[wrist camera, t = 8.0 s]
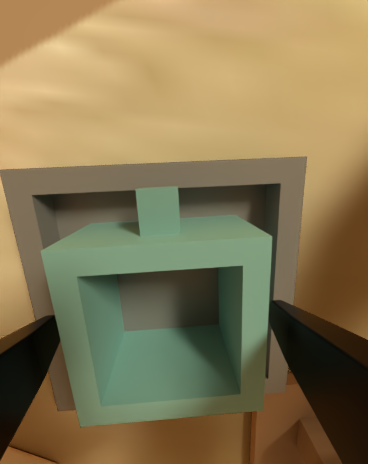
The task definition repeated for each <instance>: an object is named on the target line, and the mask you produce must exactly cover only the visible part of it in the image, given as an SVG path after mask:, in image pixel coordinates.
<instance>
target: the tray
mask: <svg viewBox="0 0 368 464" xmlns="http://www.w3.org/2000/svg"><path fill="white" fill-rule="evenodd" d="M306 162H307V157H285V158H262V159H239V160H216V161H192V162H169V163H146V164H122V165H99V166H76V167H53V168H29V169H6V170H0V176H1V180H2V184H3V188H4V192H5V196H6V200H7V204H8V208H9V213H10V217H11V221H12V225H13V229H14V233H15V237H16V241H17V245H18V249H19V253H20V258H21V262H22V266H23V270H24V274H25V278H26V282H27V286H28V290H29V294H30V299H31V303H32V307H33V311H34V315H35V319H36V320H38V319H40V318H42V317H44V316H47V315H55V313H54V309H53V304H52V300H51V295H50V291H49V287H48V282H47V278H46V273H45V269H44V264H43V260H42V255H41V250H43V249H45V248H47V247H49V246H50V245H52V244H54V243H56V242H58V241H60V240H61V239H63V238H65V237H67V236H69V235H70V234H72V233H74V232H76V231H78V230H80V229H81V228H83V227H85V226H87V225H89V224H91V223H107V222H124V221H139V219H138V210H137V200H136V191H135V189H138V188H149V187H168V186H178V196H179V214H180V218H193V217H210V216H227V215H237V216H238V217H240V218H242V219H244V220H245V221H247V222H249V223H250V224H252V225H254V226H255V227H257V228H259V229H261V230H262V231H264V232H266V233H267V234H269V235H271V236H272V254H271V274H270V293H269V304H270V301H271V300H282V301H285V302H287V303H289V304H291V305H293V306H294V295H295V284H296V273H297V262H298V251H299V240H300V228H301V217H302V206H303V195H304V184H305V173H306ZM117 279H118V287H119V294H120V301H121V309H122V316H123V323H124V330H125V331H138V330H151V329H164V328H178V327H191V326H204V325H217V324H219V290H218V267H214V268H199V269H184V270H169V271H154V272H139V273H124V274H117ZM48 372H49V376H50V380H51V385H52V389H53V393H54V397H55V401H56V405H57V409H58V411H65V410H76V407H75V402H74V398H73V393H72V389H71V384H70V380H69V375H68V371H67V367H66V362H65V358H64V353H63V349H62V344H61V341H60V343H59V346H58V348H57V350H56V353H55V355H54V357H53V360H52V362H51V364H50V367H49V369H48ZM287 373H288V364H287V362H286V361H285V358H284V356H283V354H282V352H281V349H280V347H279V345H278V342H277V340H276V338H275V335H274V333H273V331H272V328H271V326H270V323H269V312H268V331H267V351H266V370H265V389H264V394H270V393H282V392H286V384H287Z"/></svg>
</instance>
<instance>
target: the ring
mask: <svg viewBox="0 0 368 464" xmlns="http://www.w3.org/2000/svg"><path fill="white" fill-rule="evenodd" d="M135 191H136V200H137V210H138V219H139V221H124V222H107V223H91V224H89V225H87V226H85V227H83V228H81V229H80V230H78V231H76V232H74V233H72V234H70V235H69V236H67V237H65V238H63V239H61V240H60V241H58V242H56V243H54V244H52V245H50V246H49V247H47V248H45V249H43V250H41V255H42V260H43V264H44V269H45V273H46V278H47V282H48V287H49V291H50V295H51V300H52V304H53V309H54V313H55V318H56V322H57V327H58V331H59V335H60V340H61V344H62V349H63V353H64V358H65V362H66V367H67V371H68V375H69V380H70V384H71V389H72V393H73V398H74V402H75V407H76V411H77V415H78V420H79V424H80V427H87V426H98V425H109V424H120V423H131V422H142V421H154V420H165V419H176V418H187V417H198V416H209V415H220V414H231V413H242V412H253V411H263V409H264V389H265V370H266V351H267V331H268V312H269V293H270V274H271V254H272V236H271V235H269V234H267V233H266V232H264V231H262V230H261V229H259V228H257V227H255V226H254V225H252V224H250V223H249V222H247V221H245V220H244V219H242V218H240V217H238V216H237V215H227V216H210V217H193V218H180V214H179V196H178V186H168V187H149V188H138V189H135ZM214 267H218V290H219V324H217V325H204V326H191V327H178V328H164V329H151V330H138V331H125V330H124V323H123V316H122V309H121V301H120V294H119V287H118V279H117V274H124V273H139V272H154V271H169V270H184V269H199V268H214Z"/></svg>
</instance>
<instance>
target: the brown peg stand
mask: <svg viewBox="0 0 368 464" xmlns="http://www.w3.org/2000/svg"><path fill="white" fill-rule="evenodd" d="M250 464H342V462H341V461H340V459H339V457H338V455H337V453H336V452H335V450H334V448H333V446H332V444H331V443H330V441H329V439H328V437H327V435H326V433H325V432H324V430H323V428H322V426H321V424H320V423H319V421H318V419H317V417H316V415H315V413H314V412H313V410H312V408H311V406H310V404H309V403H308V401H307V399H306V397H305V395H304V394H303V392H302V390H301V388H300V386H299V384H298V383H297V381H296V379H295V377H294V375H293V374H292V373H287V384H286V392H282V393H270V394H264V409H263V411H253V412H252V418H251V442H250Z"/></svg>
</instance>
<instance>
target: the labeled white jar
mask: <svg viewBox="0 0 368 464" xmlns="http://www.w3.org/2000/svg"><path fill="white" fill-rule="evenodd" d="M0 464H57V463H55V462H52V461H49V460H46V459H43V458H41V457H38V456H35V455H32V454H29V453H26V452H23V451H20V450H18V449H15V448H12V447H9V446H8V448H7V449H6V451H5V453H4V455H3V457H2V459H1V461H0Z"/></svg>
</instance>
